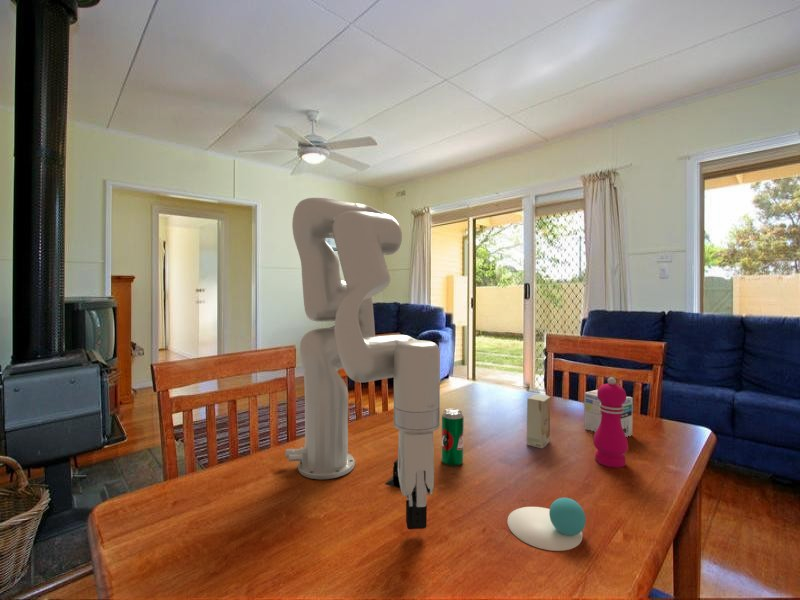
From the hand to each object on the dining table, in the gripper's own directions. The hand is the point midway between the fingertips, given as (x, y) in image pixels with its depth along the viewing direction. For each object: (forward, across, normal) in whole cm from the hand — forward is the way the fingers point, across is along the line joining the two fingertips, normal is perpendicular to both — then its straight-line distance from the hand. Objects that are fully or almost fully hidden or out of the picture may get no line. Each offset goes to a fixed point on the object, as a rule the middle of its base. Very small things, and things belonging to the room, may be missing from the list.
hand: (416, 525), depth 66 cm
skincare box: (+2, -35, +37) cm, 51 cm away
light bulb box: (+2, -41, +60) cm, 73 cm away
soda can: (+2, -26, +12) cm, 29 cm away
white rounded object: (+2, 0, +22) cm, 22 cm away
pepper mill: (+2, -23, +49) cm, 54 cm away
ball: (-1, +2, +25) cm, 25 cm away
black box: (+2, -19, 0) cm, 19 cm away
